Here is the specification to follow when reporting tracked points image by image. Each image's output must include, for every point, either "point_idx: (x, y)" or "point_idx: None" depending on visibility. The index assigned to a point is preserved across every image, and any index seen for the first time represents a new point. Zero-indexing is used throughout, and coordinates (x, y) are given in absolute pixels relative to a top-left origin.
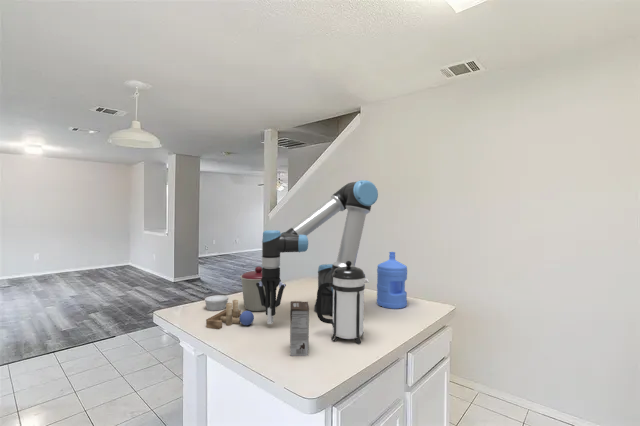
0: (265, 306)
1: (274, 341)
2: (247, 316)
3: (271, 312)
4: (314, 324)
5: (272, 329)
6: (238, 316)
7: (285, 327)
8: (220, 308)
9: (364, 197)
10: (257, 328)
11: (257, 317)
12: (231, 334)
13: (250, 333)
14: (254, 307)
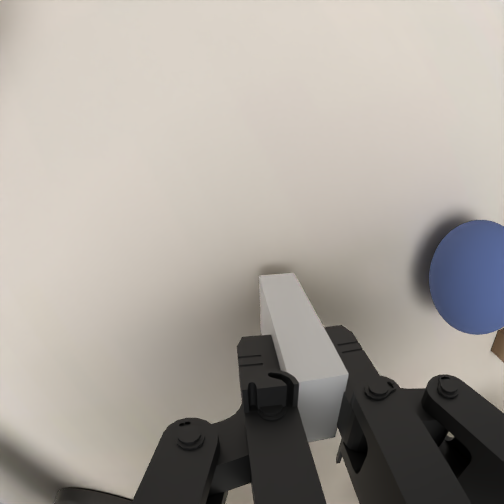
0: (394, 384)
1: (96, 38)
2: (488, 249)
3: (277, 358)
4: (44, 405)
5: (231, 251)
6: (502, 334)
7: (155, 325)
8: None
9: None
10: (361, 225)
11: (416, 385)
12: (460, 70)
13: (364, 108)
14: (451, 435)
